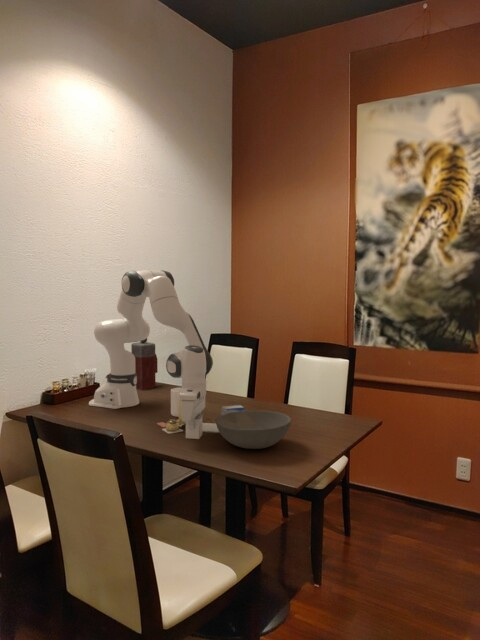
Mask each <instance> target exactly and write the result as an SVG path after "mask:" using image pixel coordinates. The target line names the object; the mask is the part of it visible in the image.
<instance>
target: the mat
mask: <svg viewBox="0 0 480 640" xmlns="http://www.w3.org/2000/svg"><path fill="white" fill-rule="evenodd" d="M202 433H216V434H220V432H219V430H218V428H217V425H216V423H214V422H213V423H211V422H202Z"/></svg>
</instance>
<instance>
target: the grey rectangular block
mask: <svg viewBox="0 0 480 640" xmlns="http://www.w3.org/2000/svg"><path fill="white" fill-rule="evenodd" d="M203 416H204V414H203V413H200V414H198V415H197V416H196V418H195V419H194V424H195V428H194V429H193V430H189V424H188V422H186V423H185V439H195V440H200V439H201V437H202V436H203V432H202V423H203Z"/></svg>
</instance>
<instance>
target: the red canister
mask: <svg viewBox="0 0 480 640" xmlns="http://www.w3.org/2000/svg"><path fill="white" fill-rule="evenodd" d="M130 347H131V351H130V352H131V353H132V354H133V355H134V356H135V372H136V376H137V384H136V388H137V389H136V390H139V389H140V390H139V391H145V390H144V389H146V390H150V389H149V388H151V389H155V388H154V387H157V386H156V374H157V373H159V372H158V357H157V353H156V343H154V342H148V338H147V339H145V340H142V341H138V342H131V346H130Z"/></svg>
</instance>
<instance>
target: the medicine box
mask: <svg viewBox="0 0 480 640" xmlns="http://www.w3.org/2000/svg"><path fill="white" fill-rule="evenodd" d="M240 411H246V410H245V407H244V406H242V405H241V404H236V405H226V406H225V405H224V406H221V416H222V415H225V414H228V413H231V412H240Z"/></svg>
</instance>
